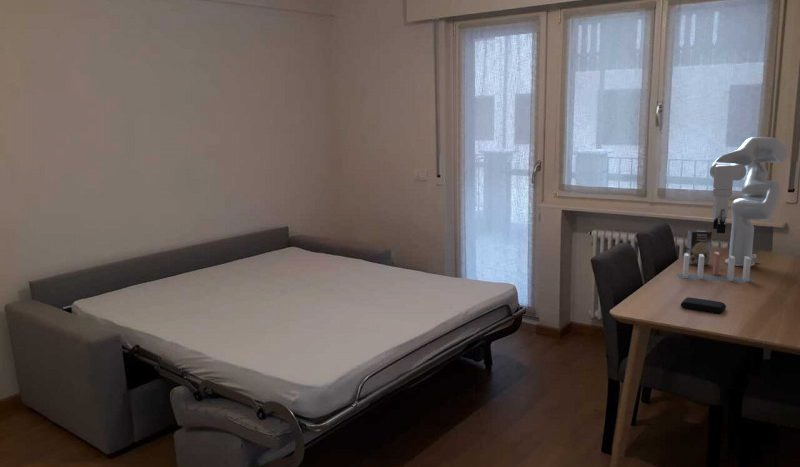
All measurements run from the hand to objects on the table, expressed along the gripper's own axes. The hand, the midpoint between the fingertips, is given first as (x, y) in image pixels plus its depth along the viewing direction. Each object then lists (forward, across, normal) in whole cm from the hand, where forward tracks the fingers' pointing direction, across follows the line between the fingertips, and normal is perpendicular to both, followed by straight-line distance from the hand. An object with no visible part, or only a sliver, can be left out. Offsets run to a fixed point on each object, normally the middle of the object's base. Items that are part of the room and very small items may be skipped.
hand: (718, 231), depth 275 cm
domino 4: (+20, +8, +11) cm, 24 cm away
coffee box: (+20, -21, -5) cm, 29 cm away
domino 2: (+20, +8, -7) cm, 23 cm away
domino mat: (+20, +8, -1) cm, 22 cm away
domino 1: (+20, +8, -13) cm, 25 cm away
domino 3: (+20, +8, +5) cm, 22 cm away
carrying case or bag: (+21, +53, -12) cm, 58 cm away
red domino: (+20, 0, 0) cm, 20 cm away
